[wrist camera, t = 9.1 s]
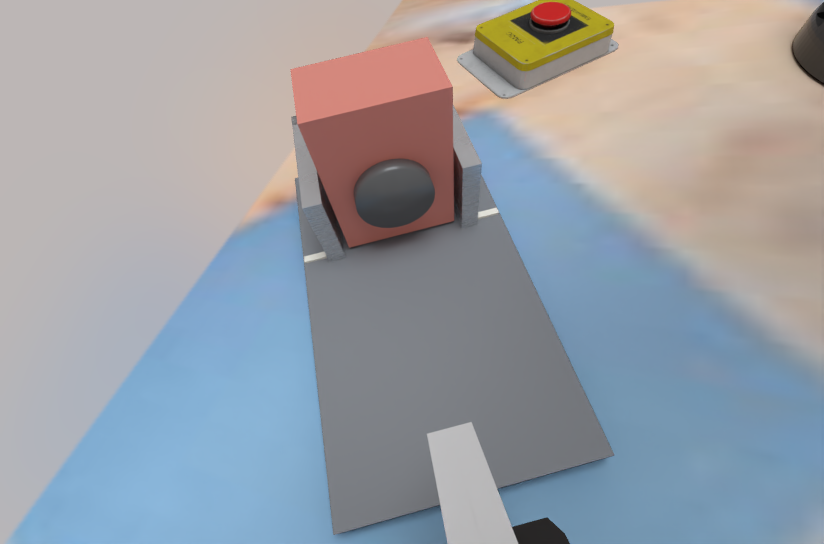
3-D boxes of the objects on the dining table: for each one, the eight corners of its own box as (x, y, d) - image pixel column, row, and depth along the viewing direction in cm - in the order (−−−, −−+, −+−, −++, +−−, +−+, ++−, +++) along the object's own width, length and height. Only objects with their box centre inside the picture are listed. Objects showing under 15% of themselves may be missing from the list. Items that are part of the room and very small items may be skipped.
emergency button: (637, 6, 37) (507, 63, 35) (620, 52, 41) (502, 106, 38) (571, -27, 42) (452, 21, 39) (562, 17, 46) (453, 63, 43)
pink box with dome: (436, 174, 31) (427, 36, 22) (458, 231, 28) (458, 98, 19) (340, 198, 31) (290, 69, 22) (351, 258, 28) (299, 137, 19)
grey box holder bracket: (443, 145, 33) (441, 80, 28) (477, 224, 29) (481, 163, 24) (317, 177, 33) (291, 116, 28) (330, 262, 28) (302, 208, 23)
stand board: (463, 150, 35) (463, 134, 34) (604, 458, 21) (615, 454, 20) (300, 190, 34) (294, 176, 33) (341, 533, 21) (332, 535, 19)
